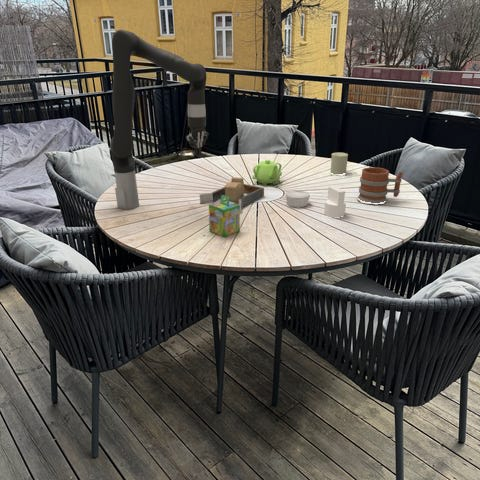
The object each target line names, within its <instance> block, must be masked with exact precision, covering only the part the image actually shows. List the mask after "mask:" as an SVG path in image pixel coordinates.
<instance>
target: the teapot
mask: <svg viewBox="0 0 480 480" xmlns="http://www.w3.org/2000/svg"><path fill="white" fill-rule="evenodd" d="M278 166H279V167H278ZM252 170H253V175H252V179H253V180H256V181H257V183H259V184H260V183H261V185H262V186H264V187H266V186H268V184H272V185H277V184H278V183H277V182H279V181H280V179H281V177H282V175H283V174H282V164H281V163H280V162H275V161H271V160H270V159H264V160H262V161H260V162H258V164H257V165H256V164H255V165H254V166H253V167H252Z"/></svg>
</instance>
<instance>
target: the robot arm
mask: <svg viewBox="0 0 480 480" xmlns="http://www.w3.org/2000/svg"><path fill="white" fill-rule="evenodd" d="M111 38H112V39H111V49H112V50H111V51H112V63H113V70H112V71H113V72H112V95H111V96H112V97H111V100H112V101H111V103H112V115H113V123H114V124H113V137H111V139H110V140H109V141H110V142H109V148H110V153H111V159H112V160H111V161H112V166H113V172H114V179H115V185H116V187H115V188H114V190H115V198H116V205H117V208H119V209H123V210H131V209H135V208H138V207H139V206H140V203H139V202H140V200H139V193H138V191H139V190H138V183H137V176H136V168H135V162H134V158H133V148H134V147H133V145H134V144H133V132H132V131H133V129H132V127H133V119H134V109H135V102H136V101H135V100H136V99H135V97H136V90H135V85H134V81H133V76H132V73H131V57H137V58H140V59H144V60H146V61H149V62H151V63H153V64H154V65H155V66H157V67H159V68H160V69H163V70H165V71H168V72H169V73H172V74H174V75H177V76H178V77H180V78H181V79H183V80H184V81H186V82H188V83H190V87H189V89H188V91H187V125H188V127H189V133H188V135H185V139H186V141H187V142H188V144H189V146H190V147H192V148H194V156H195V157H201V156H202V147H203V146H205V145H206V142H207V140H208V138H209V135H210V133H209V132H207V131H206V126H207V116H206V115H207V114H206V111H207V110H206V99H205V98H206V97H205V96H206V95H205V91H206V84H207V71H206V68H205V67H204V65H203V64H201V63H191V62H189V61H187V60H185V58H183V57H181V56H179V55H177V54H175V53H173V52H170V51H168V50H165V49H163V48H160V47H158V46H155V45H154V44H151V43H149V42H147V41H146V40H144V39H143V38H141V37H140V36H138V35H136V34H135V33H134V32H133V31H129V30H125V29H118V30H116V31H115V32H114V34H113V36H112V37H111Z"/></svg>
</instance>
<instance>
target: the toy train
mask: <svg viewBox="0 0 480 480" xmlns="http://www.w3.org/2000/svg"><path fill="white" fill-rule="evenodd" d="M244 184H245V182H244V177H235V176H233V177H231V181H230V182H227V183H226V184H224V186H223V187H224V188H225V196H227V197H230V201H231V202H233V203H236V204H239V198H241V197H243V196H245V193H244V191H245V188H244ZM224 200H226V199H224Z"/></svg>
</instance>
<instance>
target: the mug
mask: <svg viewBox="0 0 480 480" xmlns="http://www.w3.org/2000/svg"><path fill="white" fill-rule="evenodd" d="M389 175H390V171H389V170H388V169H386V168H382V167H372V166H368V167H364V168H362V169H361V176H360V179H359V182H360V186H359V188H358V192H359V195H357V197H358V198H359V199H360V200H362V201H365V202H371V203H380V202H384V201H386V200H387V201H388V199H386V198H387V195H388V194H389V193H392V194H393V197H395V198H397V197H398V196H399V194H400V193H401V192H400V191H401V190H400V187H401V183H402V180H403V179H402V176H403V171H398V174H397V175H396V177H395V178H389ZM389 183H394V186H393V187H394V188H392V189H391V188H388V185H389Z"/></svg>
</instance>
